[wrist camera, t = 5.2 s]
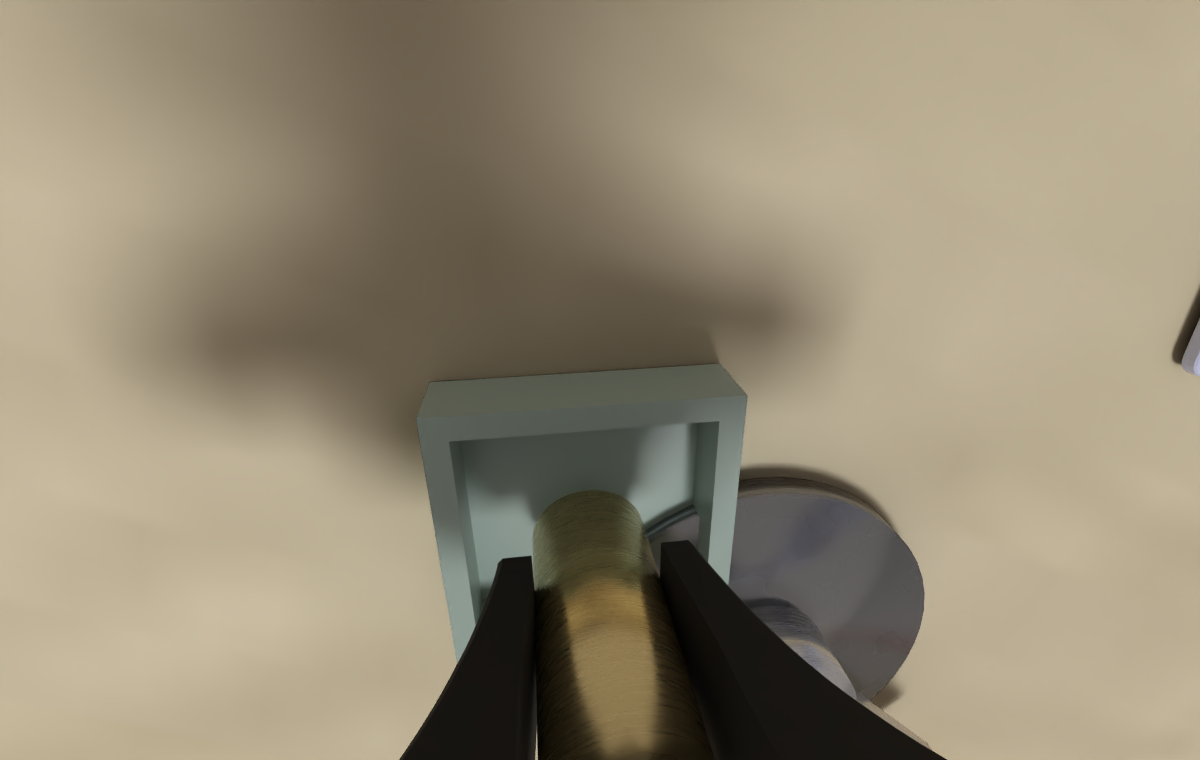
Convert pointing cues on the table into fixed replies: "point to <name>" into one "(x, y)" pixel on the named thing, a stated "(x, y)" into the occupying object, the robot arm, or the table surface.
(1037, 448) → the table surface
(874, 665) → the dark gray disc
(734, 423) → the tray
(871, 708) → the crank
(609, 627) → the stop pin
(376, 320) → the table surface
